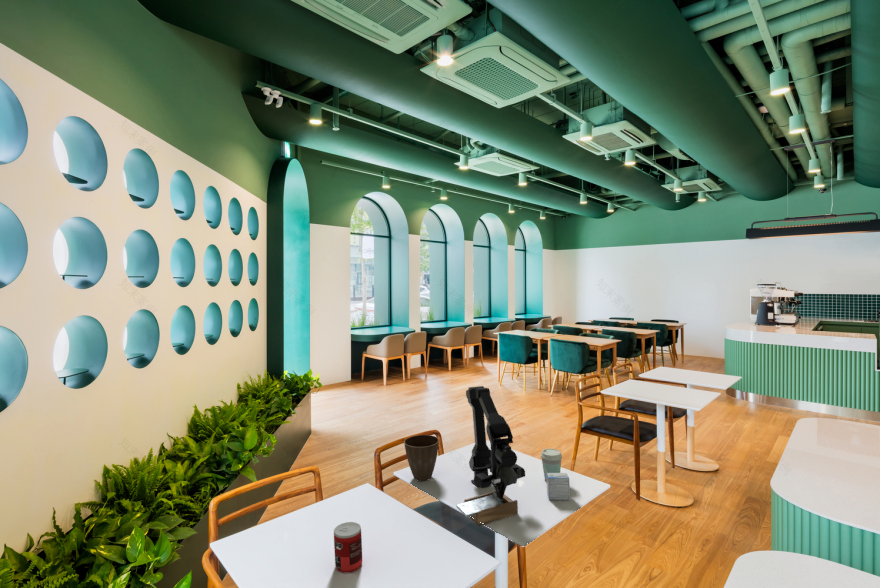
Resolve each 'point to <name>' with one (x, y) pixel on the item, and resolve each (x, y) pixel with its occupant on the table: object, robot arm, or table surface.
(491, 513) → the walnut box
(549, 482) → the medicine box
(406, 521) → the table surface
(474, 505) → the cover plate
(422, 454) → the plant pot
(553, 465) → the coffee cup
